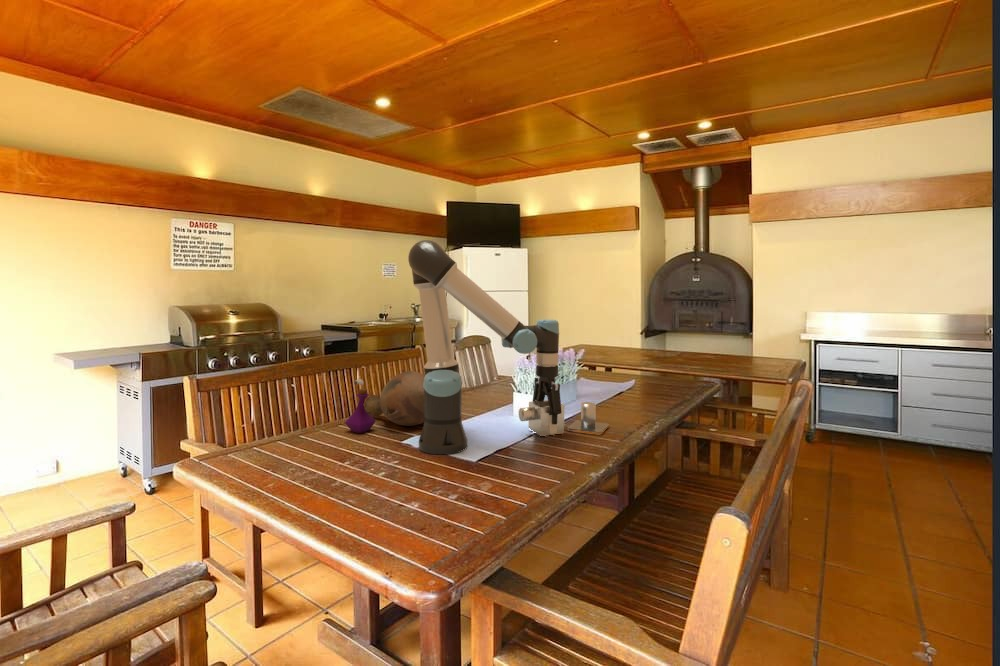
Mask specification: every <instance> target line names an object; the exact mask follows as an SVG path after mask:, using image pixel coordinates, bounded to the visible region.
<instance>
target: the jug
mask: <svg viewBox="0 0 1000 666" xmlns="http://www.w3.org/2000/svg"><path fill="white" fill-rule="evenodd" d="M424 377H425V374H423V373H421V372H419V371H415V370H407V371H404V372H401V373H398V374H397V375H395V376H393V377H392V378H391V379H390V380H388V382H387V383H386V384H385V385H384V387H383V389H382V391H381V393H380V396H379V395H375V394H372V395H369V396H367V397H366V399H365V401H364V408H365V411H366V412H367V413H368V414H369V415H370V416H371V417H372V418H373V419H374V418H377V417H379V416H380V415H382V414H383V415H384V416H385V418H386V419H387V420H388V421H391V422H392V423H393V424H396V425H398V426H404V427H412V426H414V427H415V426H419V425H420V424H424V387H423V382H424Z"/></svg>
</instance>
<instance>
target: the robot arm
mask: <svg viewBox="0 0 1000 666" xmlns="http://www.w3.org/2000/svg"><path fill="white" fill-rule="evenodd" d="M407 259H408V264H409V267H410V268H411V269H410V270H411V274H412V283H413V286H414V287H415V288H416V289H417V290H418V293H419V302H420V309H421V317H422V324H423V325H422V326H423V333H424V341H425V342H424V343H425V348H426V349H425V351H426V358H427V362H425V364H424V366H423V371H424V375H425V377H424V382H423V387H424V422H423V427H422V429H421V432H420V436H419V438H418V449H419V450H420V451H421V452H423V453H426V454H430V455H431V454H432V455H451V453H452V454H457V453H460V452H462V451H461V450H463V449H465V448H466V447H467V448H468V438H467V434H466V432H465V428H464V425H463V420H462V419H463V418H462V417H463V414H462V409H463V408H462V397H463V396H462V395H463V394H462V390H463V389H462V387H463V380H462V375H461V372H460V367H459V362H458V361H457V360H456V359H455V358H454V353H453V344H452V337H451V336H452V335H451V327H450V326H451V325H450V319H449V318H450V317H449V310H448V303H447V294H446V293H448V294H449V295H450V296H451V297H453V298H454V299H455V300H456V301H458V303H460V304H461V305H463V307H465V309H467V310H468V311H470V312H471V313H472V314H473V315H474V316H475V317H476V318H477V319H479V320H480V321H482V322H483V323H484V324H485V325H486V326H487V327H488V328H490V329H491V330H492V331H493V332H494V333H496V334H497V335H498V336H499V337H500V338H501V345H502V347H503V348H509V349H512V348H513V349H514V350H515V351H516V352H518V353H519V354H524V355H528V354H530V353H532V352H534V351H535V349H536V352H535V353H536V354H535V355H536V356H535V363H536V364H537V365H536V366H535V369H536V370H535V374H536V375H535V376H536V377H534V387H533V396H532V402H533V401H545V397H547V400H548V403H549V407H550V412H551V413H549V434H553V433H557V415H558V414H561V413H562V411H561V404H562V403H561V402H562V401H561V393H560V389H561V384H560V383H556V380H555V379H556V378H557V377H558V376H559V365H558V364H559V357H560V355H559V347H560V346H559V345H560V344H559V343H560V326H559V325H560V323H559V321H558V320H556V319H551V318H549V319H547V318H546V319H537V321H536V324H535V325H525V324H523V322H521V321H520V320H519V319H518V318H516V316H514V315H513V314H512V313H510V312H509V311H508V310H507V309H506V308H505V307H503V306H502V305H501V304H500V303H499V302H498V301H496V300H495V299H494V298H493V297H492V296H491V295H489V293H487V292H486V290H483V289H482V288H481V287H480V286H479V285H478V284H476V283H475V282H474V281H473V280H472V279H471V278H470V277H469V276H468V275H466V274H465V273H464V272H463V271H462V270H460V269H459V268H458V262H456V260H454V259H453V258H452V257H451V256H450V255H448V254H447V252H446V251H445V250H444V249H443V247H442V246H441V245H440V244H439V243H438V242H436V241H434V240H429V239H423V240H419V241H417V242H416V243H414V244H413V246H412V247H411V248H410V250H409V252H408V257H407ZM467 448H466V449H467ZM466 449H465V450H466ZM459 451H460V452H459ZM463 451H464V450H463ZM456 452H457V453H456Z"/></svg>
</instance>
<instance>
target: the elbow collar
mask: <svg viewBox="0 0 1000 666" xmlns="http://www.w3.org/2000/svg"><path fill="white" fill-rule="evenodd" d="M565 407H566V406H565V405H564V404H563V403H561V411H562V413H561V414H558V415H557V433H563V432H564V433H565V409H566V408H565ZM549 413H551V412H550V407H549V403H548V399H546V400H545V399H544V401H536V400H535V401H533V400H532V401H529V402H528V407H520V408H519V410H518V417H519V420H520V422H527V421H528V428H530V429H531V430H533V431H534V432H536V433H537V434H538V435H540V436H544V435H550V434H549ZM557 433H553V434H557ZM538 435H537V436H538ZM540 436H539V437H540Z"/></svg>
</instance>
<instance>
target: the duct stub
mask: <svg viewBox="0 0 1000 666" xmlns="http://www.w3.org/2000/svg"><path fill="white" fill-rule="evenodd" d="M580 404H581V405H580V406H581V409H580V412H581V413H580V420H578V419H576V420H574V422H573V423H571V424H570V425H569V426H567V427H566V430H567V429H569V430H581V431H589V432H597V433H601V432H602V431H603V430H604V429H605V428H606V427H607V426H608V425H609V426H610V424H609V423H604V422H597V421H596V417H597V414H596V413H597V411H596V410H597V409H596V408H597V404H596V403H595V402H592V401H591V402H590V401H589V402H588V401H585V402H584V401H583V402H581V403H580Z"/></svg>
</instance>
